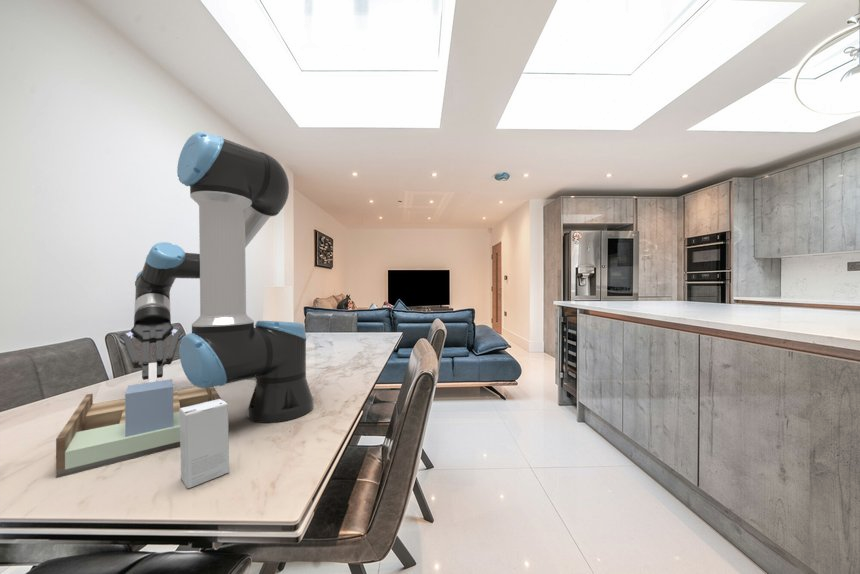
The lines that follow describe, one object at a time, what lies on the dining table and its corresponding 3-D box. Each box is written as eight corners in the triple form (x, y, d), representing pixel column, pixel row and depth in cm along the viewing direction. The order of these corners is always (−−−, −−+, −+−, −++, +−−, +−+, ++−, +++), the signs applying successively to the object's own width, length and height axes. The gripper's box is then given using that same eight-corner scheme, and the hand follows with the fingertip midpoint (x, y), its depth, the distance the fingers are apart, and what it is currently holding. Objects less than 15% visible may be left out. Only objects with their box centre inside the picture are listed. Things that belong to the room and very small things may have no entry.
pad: (76, 447, 62) (76, 432, 62) (212, 417, 77) (212, 405, 77) (65, 469, 55) (65, 452, 55) (218, 431, 69) (218, 418, 69)
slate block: (128, 424, 66) (128, 385, 66) (172, 416, 70) (172, 379, 70) (125, 437, 60) (125, 394, 60) (173, 426, 65) (173, 386, 65)
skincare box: (221, 464, 58) (220, 397, 58) (230, 473, 55) (230, 402, 55) (178, 480, 53) (178, 406, 53) (186, 491, 50) (185, 413, 50)
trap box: (86, 421, 77) (86, 394, 77) (208, 399, 93) (208, 376, 93) (56, 477, 54) (56, 438, 54) (224, 435, 70) (224, 404, 70)
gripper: (182, 321, 95) (186, 391, 82) (120, 324, 86) (115, 404, 74) (183, 303, 91) (188, 375, 78) (119, 305, 82) (112, 385, 70)
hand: (152, 389), depth 76 cm, fingers closed
